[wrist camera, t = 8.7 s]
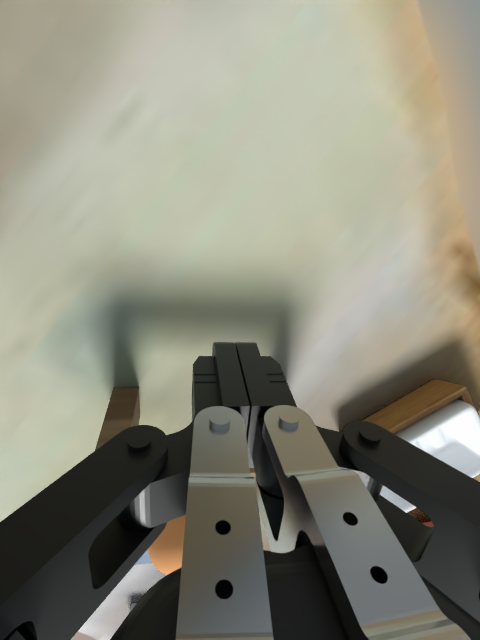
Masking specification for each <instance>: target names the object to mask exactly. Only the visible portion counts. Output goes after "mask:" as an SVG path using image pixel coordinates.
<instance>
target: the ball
mask: <svg viewBox="0 0 480 640" xmlns="http://www.w3.org/2000/svg"><path fill="white" fill-rule="evenodd" d="M185 518H186V515H183V516H181V517H178V518H176V519H173V520H171V521H168V522H167V525H166V527H165V529H164V530H163V532H162V533H161V534H160V535H159V536H158V538H157V539H156V540H155V541H154V542H153V543H152V545H151V546H150V547H149V548H148V553H149V557H150V559H151V561H152V563H153V565H154V566H155V567H156V568H157V569H158V570H159V571H161V572H162V573H164V574H167V575H168V574H170V573H171V572H173V571H175V570H177V569H179V568H181V567H182V555H183V543H184V531H185Z"/></svg>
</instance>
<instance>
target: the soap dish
mask: <svg viewBox="0 0 480 640" xmlns="http://www.w3.org/2000/svg"><path fill="white" fill-rule="evenodd" d="M362 421H368V422H371V423H374V424H377V425H379V426H381V427H382V428H384V429H386V430H388V431H389V432H391V433H393V434H395V435H397V436H398V437H400V438H402V439H404V440H405V441H407V442H409V443H411V444H413V445H414V446H416V447H418V448H420V449H421V450H423V451H425V452H427V453H429V454H430V455H432V456H434V457H436V458H437V459H439V460H441V461H443V462H445V463H446V464H448V465H450V466H452V467H453V468H455V469H457V470H459V471H461V472H462V473H464V474H466V475H468V476H469V477H471V478H473V477H475V476H477V475H479V474H480V416H479V414H478V411H477V409H476V407H475V405H474V403H473V401H472V398H471V396H470V394H469V392H468V390H467V388H466V387H465V386H463V385H459V384H455V383H451V382H447V381H442V380H437V379H434V380H431V381H429V382H427V383H426V384H425V385H423V386H421V387H419V388H418V389H416V390H414V391H412V392H411V393H409V394H407V395H405V396H404V397H402V398H400V399H399V400H397V401H395V402H393V403H392V404H390V405H388V406H386V407H385V408H383V409H381V410H380V411H378V412H376V413H374V414H373V415H371V416H369V417H367V418H366V419H364V420H362ZM380 495H381V496H383V497H384V498H385V499H387V500H388V501H390V502H391V503H393V504H394V505H396V506H397V507H399V508H400V509H402V510H403V511H405V512H406V513H407V512H409V511H411V510H413V509H415V508H417V507H415V506H414V505H412V504H411V503H409V502H408V501H406V500H405V499H403V498H401V497H400V496H398V495H397V494H395V493H394V492H392V491H391V490H389V489H388V488H386V487H385V486H383V487H382V489H381V492H380Z"/></svg>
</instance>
